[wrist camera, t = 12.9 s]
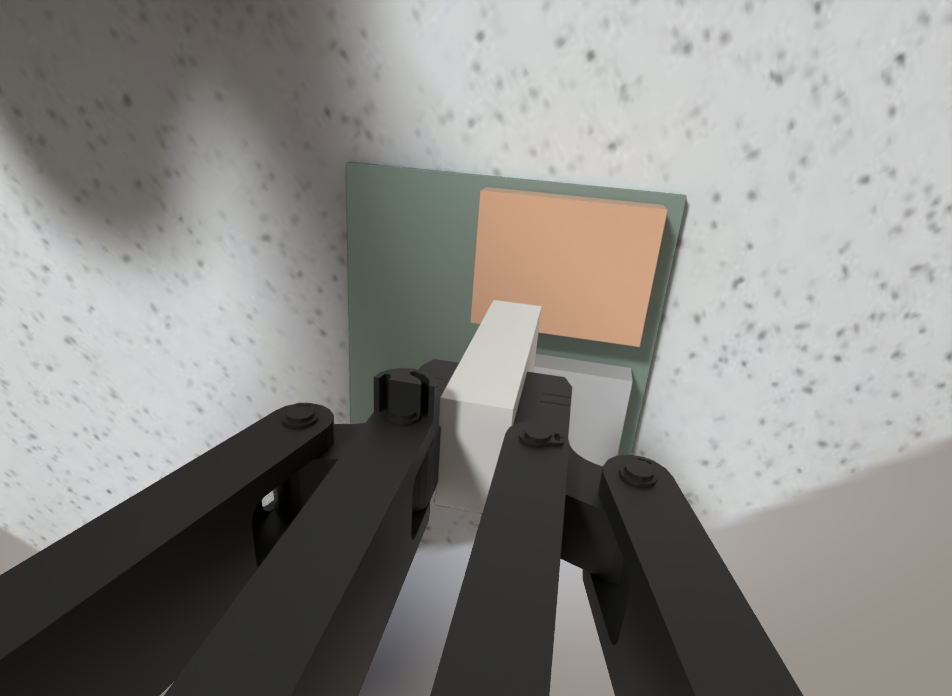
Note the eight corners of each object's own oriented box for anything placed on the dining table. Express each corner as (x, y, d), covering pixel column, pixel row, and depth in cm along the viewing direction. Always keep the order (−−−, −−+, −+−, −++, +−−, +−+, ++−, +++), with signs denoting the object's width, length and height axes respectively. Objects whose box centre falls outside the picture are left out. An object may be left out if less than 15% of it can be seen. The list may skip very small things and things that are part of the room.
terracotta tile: (470, 322, 30) (639, 346, 29) (480, 190, 27) (667, 209, 26) (477, 311, 32) (637, 334, 30) (487, 186, 29) (663, 204, 28)
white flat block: (460, 461, 34) (610, 489, 32) (468, 356, 31) (632, 381, 29) (467, 444, 35) (610, 470, 34) (475, 343, 33) (630, 367, 31)
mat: (354, 425, 37) (350, 430, 37) (350, 162, 31) (345, 162, 30) (625, 474, 34) (625, 480, 34) (685, 194, 28) (686, 196, 27)
